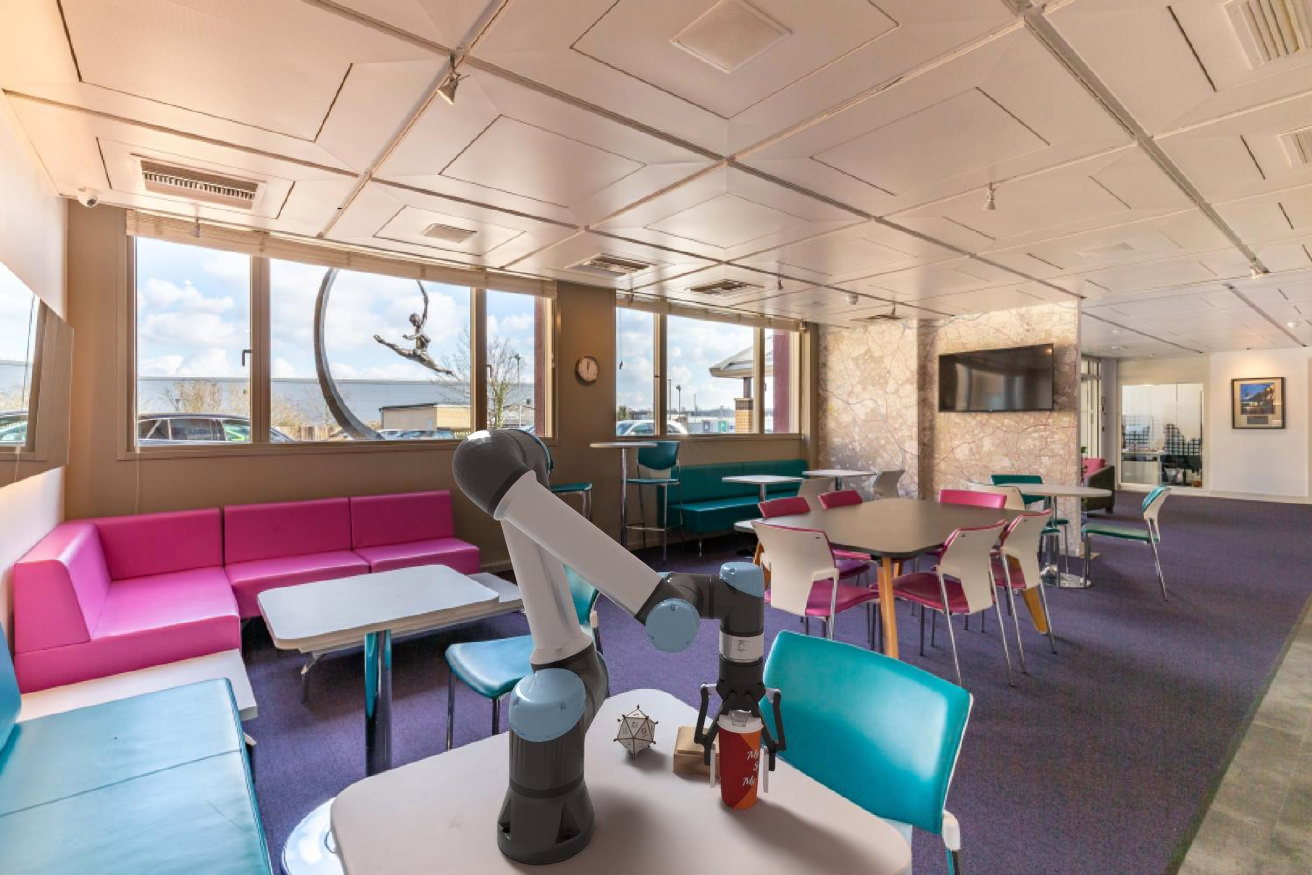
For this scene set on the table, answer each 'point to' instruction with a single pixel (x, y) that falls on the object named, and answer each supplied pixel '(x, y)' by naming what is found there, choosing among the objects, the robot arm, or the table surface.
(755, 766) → the coffee cup
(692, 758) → the plinth
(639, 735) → the game die
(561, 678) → the robot arm
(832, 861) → the table surface
